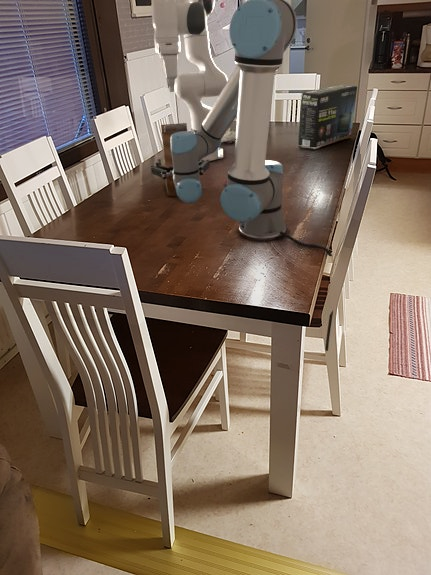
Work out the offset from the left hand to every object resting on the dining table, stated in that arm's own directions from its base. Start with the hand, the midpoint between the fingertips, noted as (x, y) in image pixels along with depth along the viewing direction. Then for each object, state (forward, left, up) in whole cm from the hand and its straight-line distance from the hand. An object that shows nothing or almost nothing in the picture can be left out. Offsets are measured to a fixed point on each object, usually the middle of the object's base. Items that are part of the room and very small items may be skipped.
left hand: (171, 89), depth 167 cm
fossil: (-86, +2, -38) cm, 94 cm away
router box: (-83, +58, -38) cm, 108 cm away
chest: (-3, -1, -38) cm, 39 cm away
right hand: (+14, +5, -22) cm, 27 cm away
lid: (+1, 0, -20) cm, 20 cm away
